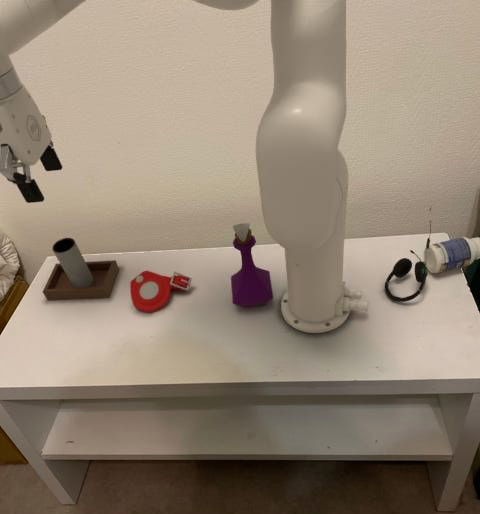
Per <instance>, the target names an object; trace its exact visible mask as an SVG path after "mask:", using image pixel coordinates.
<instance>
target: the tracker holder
mask: <svg viewBox="0 0 480 514" xmlns="http://www.w3.org/2000/svg"><path fill="white" fill-rule="evenodd" d="M192 280H193V277H190V276H187V275H185V274H182V273H181V272H177V271H173V274H172V276H166V275H161V274H159V273H156V272H153V271H151V270H143V271H142V272H141V273H139V274H138V275H136V276H135V277H134V278H132V279H131V280H130V283H129V284H130V285H129V287H130V288H129V289H130V298H131V301H132V304H133V306H134V307H135V308H136V309H137V310H138V311H141V312H144V313H153V312H156V311H158V310H161V309H162V308H163V307H164V306H165V305H166V304H167V303H168V301H169V299H170V297H171V292H172V291H186V292H188V291H189V289H190V286H191V283H192Z"/></svg>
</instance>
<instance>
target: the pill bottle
mask: <svg viewBox="0 0 480 514" xmlns="http://www.w3.org/2000/svg"><path fill="white" fill-rule="evenodd" d="M426 248H427V247H425V248H424V250H423V262H424V263H426V267H427V271H428V272H430V273H431V274H439V273H443V272H447V271H451V270H455V269H459V268H463V267H467V266H470V265H472V264H473V263H474V261H476V260H479V259H480V237H479V236H477V237H471V238H468V237H465V236H461V237H456V238H453V239H449V240H444V241H441V242H437V243H432V244H429V249H426ZM426 256H427V260H426Z"/></svg>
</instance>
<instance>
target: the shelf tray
mask: <svg viewBox="0 0 480 514" xmlns="http://www.w3.org/2000/svg"><path fill="white" fill-rule="evenodd" d="M85 262H86V264H87V266H88V268H89V270H90V272H91V274H92V276H93V279H94V281H93V283H92V285H91V286H89V287H82V288H74V287H73V286H72V284H71V282H70V281H69V279H68V277H67V275H66V273H65V271H64V270H63V268H62V266H61V264H60V262H58V263H55V264H54V267H53V269H52V271H51V273H50V275H49V277H48V279H47V281H46V283H45V285H44V288H43V289H42V294H43V295H44V297H45V299H46V301H70V300H90V299H91V300H92V299H93V300H94V299H110V298H111V295H112V292H113V289H114V286H115V284H116V280H117V277H118V275H119V272H120V267H119V265H118V263H117V260H116V259H115V260H96V261H85Z"/></svg>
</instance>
